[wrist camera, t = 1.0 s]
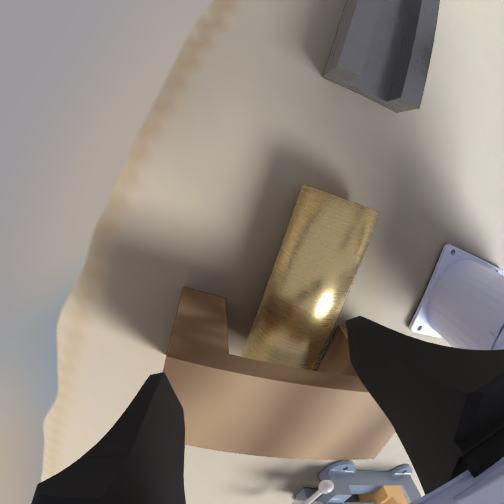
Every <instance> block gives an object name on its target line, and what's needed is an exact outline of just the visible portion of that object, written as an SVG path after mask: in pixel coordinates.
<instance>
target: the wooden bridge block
mask: <svg viewBox="0 0 504 504" xmlns="http://www.w3.org/2000/svg"><path fill="white" fill-rule="evenodd" d="M163 372H165V374H166V376H167V378H168V380H169V382H170V384H171V386H172V388H173V390H174V392H175V394H176V396H177V398H178V399H179V401H180V403H181V405H182V407H183V411H184V420H185V445H190V446H195V447H200V448H206V449H212V450H218V451H224V452H231V453H239V454H247V455H256V456H266V457H277V458H292V459H315V460H355V459H374V458H375V457H376V456H377V455H378V453H379V452H380V451H381V450H382V448H383V447H384V446H385V445H386V443H387V442H388V441H389V439H390V438H391V437H392V436H393V434H394V433H395V432H396V431H395V429H394V427H393V426H392V424H391V422H390V421H389V419H388V418H387V416H386V415H385V414H384V412H383V411H382V409H381V408H380V407H379V405H378V404H377V403H376V401H375V400H374V399H373V397H372V396H371V394H370V393H369V392H368V390H367V389H366V388H365V386H364V385H363V383H362V382H361V381H360V379H359V377H358V375H357V373H356V371H355V369H354V368H353V366H352V364H351V362H350V354H349V344H348V335H347V327H343V326H338V328H337V330H336V332H335V334H334V337H333V339H332V341H331V343H330V345H329V347H328V349H327V351H326V353H325V355H324V357H323V359H322V361H321V363H320V365H319V367H318V369H317V371H314V370H307V369H301V368H296V367H290V366H284V365H279V364H274V363H269V362H263V361H258V360H254V359H249V358H244V357H239V356H235V355H230V354H229V349H228V333H227V316H226V298H223V297H219V296H215V295H211V294H208V293H204V292H200V291H197V290H193V289H190V288H186V287H184V288H183V292H182V295H181V299H180V303H179V307H178V311H177V315H176V319H175V323H174V327H173V331H172V335H171V339H170V343H169V347H168V351H167V356H166V360H165V364H164V369H163Z"/></svg>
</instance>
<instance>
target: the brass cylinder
mask: <svg viewBox="0 0 504 504" xmlns="http://www.w3.org/2000/svg"><path fill="white" fill-rule="evenodd" d="M378 216H379V213H378V212H376V211H374V210H371V209H369V208H367V207H364V206H362V205H359V204H356V203H354V202H351V201H349V200H346V199H343V198H341V197H338V196H335V195H333V194H330V193H327V192H324V191H322V190H319V189H316V188H313V187H310V186H307V185H304V184H302V187H301V190H300V193H299V196H298V199H297V202H296V205H295V208H294V211H293V213H292V216H291V219H290V222H289V225H288V228H287V231H286V234H285V236H284V239H283V242H282V245H281V248H280V251H279V254H278V256H277V259H276V262H275V265H274V268H273V270H272V273H271V276H270V279H269V281H268V284H267V287H266V290H265V293H264V295H263V298H262V301H261V304H260V306H259V309H258V312H257V314H256V317H255V320H254V323H253V325H252V328H251V331H250V333H249V336H248V339H247V341H246V344H245V347H244V349H243V352H242V357H244V358H249V359H254V360H258V361H263V362H269V363H274V364H279V365H284V366H290V367H296V368H301V369H307V370H313V368H314V366H315V364H316V362H317V360H318V358H319V356H320V354H321V352H322V350H323V348H324V346H325V344H326V342H327V340H328V337H329V335H330V333H331V331H332V329H333V327H334V325H335V322H336V320H337V318H338V316H339V313H340V311H341V309H342V307H343V304H344V302H345V300H346V297H347V295H348V293H349V290H350V288H351V286H352V283H353V281H354V278H355V276H356V274H357V271H358V269H359V266H360V264H361V261H362V259H363V256H364V254H365V251H366V248H367V246H368V243H369V241H370V238H371V235H372V233H373V230H374V227H375V224H376V222H377V219H378Z"/></svg>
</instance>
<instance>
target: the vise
mask: <svg viewBox="0 0 504 504" xmlns="http://www.w3.org/2000/svg"><path fill="white" fill-rule="evenodd" d="M411 473H412V468H411V466H410V465H408V464H405V465H401V466H399V467H396V468H395V469H393V470H391V471H389V472H385V471H365V470H356V467H355V464H354V462H352V461H350V460H343V461H338V462H335V463H333V464H331V465H329V466H327V467H326V468H325V469H324V470H323V471H322V472H321V473H320V474H319V477H320V480H321V482H320V483H319V486H318V489H310V488H303V489H302V490H301V491H300V492H298V493H297V494H296V500H295V501H293V503H292V504H409V503H411V502H413V501H415V500H417V499H419V498H421V495H420V493H419V491H418V489H417V487H416V486H415V484H414V482H413V480H412V478H411Z"/></svg>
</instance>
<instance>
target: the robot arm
mask: <svg viewBox="0 0 504 504" xmlns="http://www.w3.org/2000/svg"><path fill="white" fill-rule="evenodd" d="M452 250H453V251H452ZM451 251H452V253H451ZM503 274H504V272H503V270H501V269H499V268H497V267H495V266H494V265H492V264H490V263H488V262H486V261H484V260H482V259H480V258H478V257H475V256H473V255H471V254H469V253H467V252H465V251H463V250H461V249H459V248H457V247H455V246H452V245H450V244H446V245H445V246H444V247H443V250H442V252H441V255H440V257H439V260H438V262H437V265H436V267H435V270H434V272H433V275H432V277H431V280H430V282H429V284H428V286H427V289H426V291H425V293H424V296H423V298H422V300H421V302H420V304H419V306H418V309H417V311H416V313H415V315H414V317H413V319H412V321H411V323H410V326H409V329H410V330H411V331H412V332H415V333H419V334H424V335H429V336H434V337H439V338H443V339H445V340H446V341H447V342H448V343H449V344H450V345H451V346H452V347H447V346H442V345H438V344H433V343H429V342H425V341H422V340H419V339H416V338H413V337H410V336H407V335H404V334H402V333H399V332H396V331H394V330H392V329H389V328H387V327H385V326H382V325H380V324H378V323H375V322H373V321H371V320H369V319H366V318H364V317H361V316H358V317H356V318H353V319H350V320H347V321H346V326H347V335H348V344H349V354H350V362H351V364H352V366H353V368H354V369H355V371H356V373H357V375H358V377H359V379H360V381H361V382H362V383H363V385H364V386H365V388H366V389H367V390H368V392H369V393H370V394H371V396H372V397H373V399H374V400H375V401H376V403H377V404H378V405H379V407H380V408H381V409H382V411H383V412H384V414H385V415H386V416H387V418H388V419H389V421H390V422H391V424H392V426H393V427H394V429H395V431H396V433H397V435H398V437H399V438H400V440H401V442H402V444H403V446H404V448H405V450H406V452H407V454H408V456H409V458H410V460H411V462H412V465H413V467H414V469H415V471H416V473H417V476H418V478H419V480H420V483H421V485H422V488H423V490H424V493H425V496H423V497H421V498H419V499H417V500H415V501H413V502H411V503H409V504H504V276H503ZM419 326H420V327H419ZM418 327H419V328H418ZM417 328H418V329H417ZM184 449H185V420H184V411H183V407H182V405H181V403H180V401H179V399H178V398H177V396H176V394H175V392H174V390H173V388H172V386H171V384H170V382H169V380H168V378H167V376H166V374H165V372H162V373H158V374H153V375H150V376H149V377H148V379H147V380H146V382H145V383H144V384H143V386H142V387H141V389H140V390H139V392H138V393H137V395H136V396H135V398H134V399H133V401H132V402H131V403H130V405H129V406H128V408H127V409H126V410H125V412H124V413H123V414H122V416H121V417H120V418H119V419H118V421H117V422H116V423H115V425H114V426H113V427H112V428H111V429H110V430H109V432H108V433H107V434H106V435H105V436H104V437H103V438H102V439H101V440H100V441H99V442H98V443H97V444H96V445H95V446H94V447H93V448H91V449H90V450H89V451H88V452H87V453H86V454H84V455H83V456H82V457H81V458H80V459H78V460H77V461H76V462H74V463H73V464H72V465H70V466H69V467H67V468H66V469H64V470H63V471H61V472H59V473H58V474H56V475H54V476H52V477H51V478H49V479H47V480H45V481H43V482H41V483H39V484H38V485H37V488H36V491H35V494H34V497H33V500H32V503H31V504H186V502H185V492H184V477H183V473H184Z"/></svg>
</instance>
